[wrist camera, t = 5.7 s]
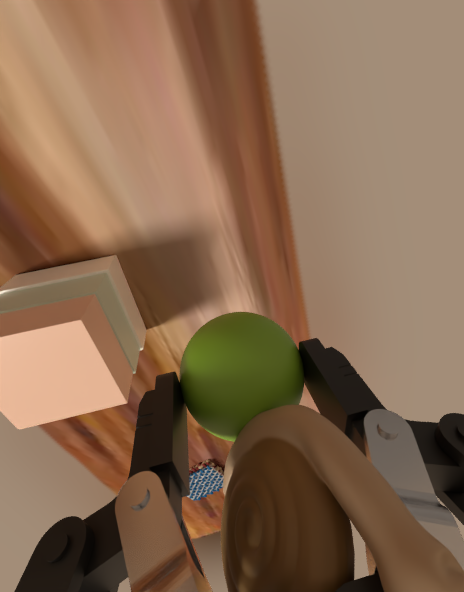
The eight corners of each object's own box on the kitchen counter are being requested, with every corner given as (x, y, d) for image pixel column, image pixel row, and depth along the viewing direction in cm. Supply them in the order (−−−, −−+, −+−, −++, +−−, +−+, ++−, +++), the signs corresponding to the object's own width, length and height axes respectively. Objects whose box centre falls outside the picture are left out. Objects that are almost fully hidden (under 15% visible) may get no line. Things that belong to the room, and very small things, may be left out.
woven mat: (208, 455, 54) (209, 465, 52) (233, 474, 59) (234, 484, 58) (166, 476, 55) (165, 487, 53) (193, 493, 61) (194, 503, 59)
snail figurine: (310, 298, 14) (681, 743, 4) (246, 380, 16) (363, 791, 6) (220, 254, 12) (512, 1026, 2) (162, 356, 14) (121, 929, 4)
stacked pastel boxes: (15, 274, 29) (-72, 346, 19) (116, 254, 30) (84, 312, 20) (63, 348, 35) (15, 434, 25) (146, 329, 36) (134, 405, 25)
